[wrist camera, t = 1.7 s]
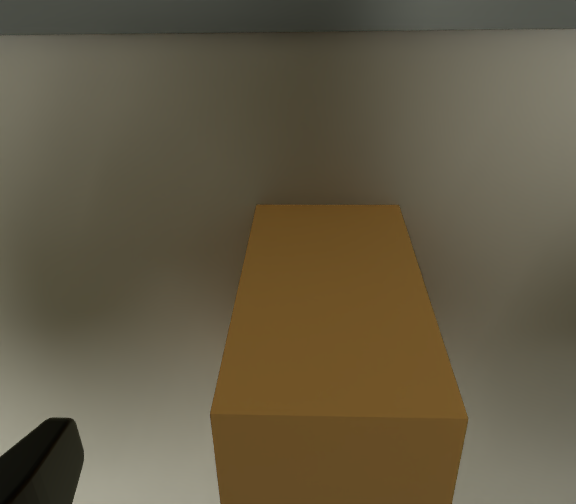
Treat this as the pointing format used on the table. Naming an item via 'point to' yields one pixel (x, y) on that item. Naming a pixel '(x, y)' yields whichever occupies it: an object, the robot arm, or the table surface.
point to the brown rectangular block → (335, 367)
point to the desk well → (278, 15)
